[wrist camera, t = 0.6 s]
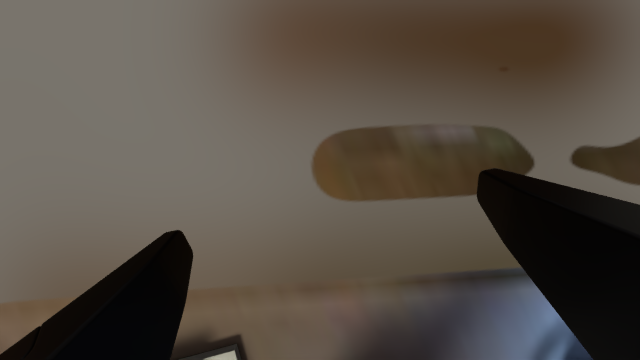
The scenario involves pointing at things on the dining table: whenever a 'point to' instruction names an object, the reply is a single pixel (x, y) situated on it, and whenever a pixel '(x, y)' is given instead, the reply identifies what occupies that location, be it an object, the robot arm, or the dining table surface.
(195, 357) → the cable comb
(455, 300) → the dining table surface
